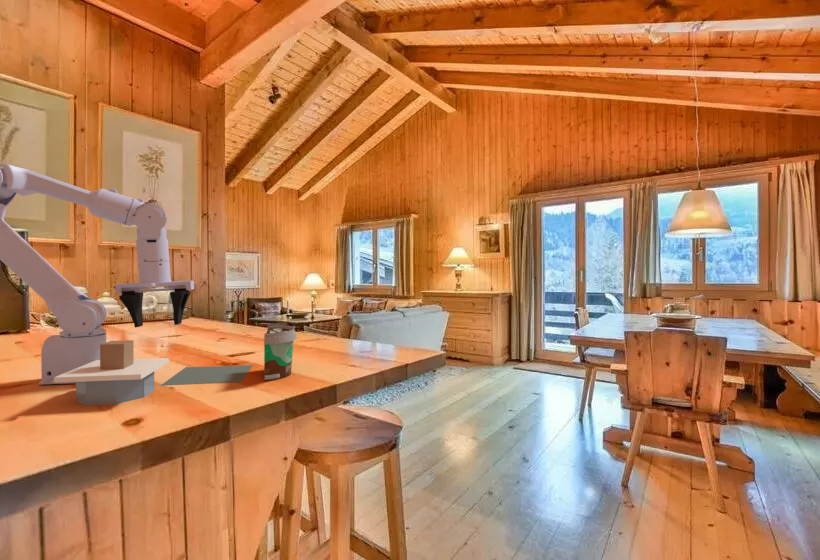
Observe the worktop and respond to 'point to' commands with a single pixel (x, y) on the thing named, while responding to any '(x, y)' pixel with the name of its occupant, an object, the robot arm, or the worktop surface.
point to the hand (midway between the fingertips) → (158, 325)
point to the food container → (278, 352)
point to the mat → (209, 375)
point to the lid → (114, 365)
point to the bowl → (113, 390)
